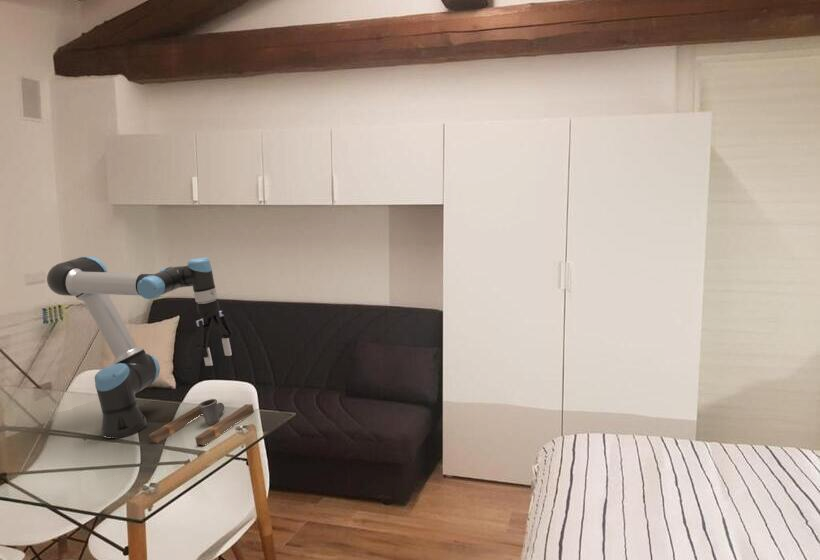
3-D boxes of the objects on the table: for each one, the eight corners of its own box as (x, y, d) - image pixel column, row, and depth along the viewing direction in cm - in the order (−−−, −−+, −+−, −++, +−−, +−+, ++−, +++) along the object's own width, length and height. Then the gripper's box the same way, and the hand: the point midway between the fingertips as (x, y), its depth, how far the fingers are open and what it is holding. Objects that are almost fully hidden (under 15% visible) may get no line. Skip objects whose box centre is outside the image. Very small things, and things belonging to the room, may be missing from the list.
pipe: (229, 412, 243) (225, 391, 242) (216, 427, 231) (211, 405, 229) (213, 414, 244) (209, 393, 243) (199, 428, 232) (195, 407, 230)
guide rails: (151, 442, 225) (149, 434, 224) (204, 410, 249) (202, 402, 248) (204, 446, 215) (202, 437, 215) (254, 412, 240) (252, 404, 239)
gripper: (193, 309, 225) (206, 371, 229) (235, 292, 245) (246, 349, 249) (176, 310, 228) (189, 371, 232) (219, 293, 248) (230, 350, 253)
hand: (219, 360), depth 241 cm, fingers open, 10 cm apart
